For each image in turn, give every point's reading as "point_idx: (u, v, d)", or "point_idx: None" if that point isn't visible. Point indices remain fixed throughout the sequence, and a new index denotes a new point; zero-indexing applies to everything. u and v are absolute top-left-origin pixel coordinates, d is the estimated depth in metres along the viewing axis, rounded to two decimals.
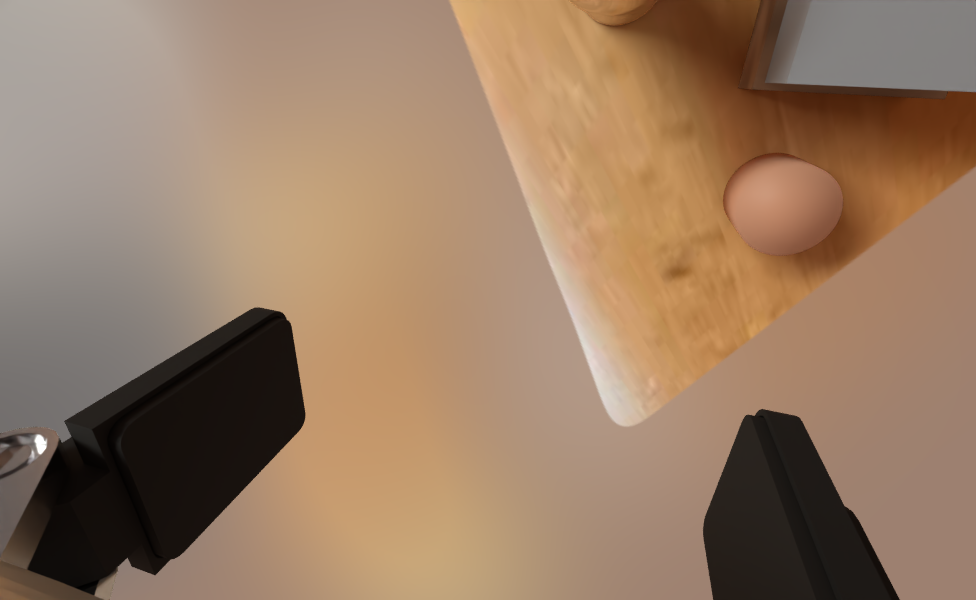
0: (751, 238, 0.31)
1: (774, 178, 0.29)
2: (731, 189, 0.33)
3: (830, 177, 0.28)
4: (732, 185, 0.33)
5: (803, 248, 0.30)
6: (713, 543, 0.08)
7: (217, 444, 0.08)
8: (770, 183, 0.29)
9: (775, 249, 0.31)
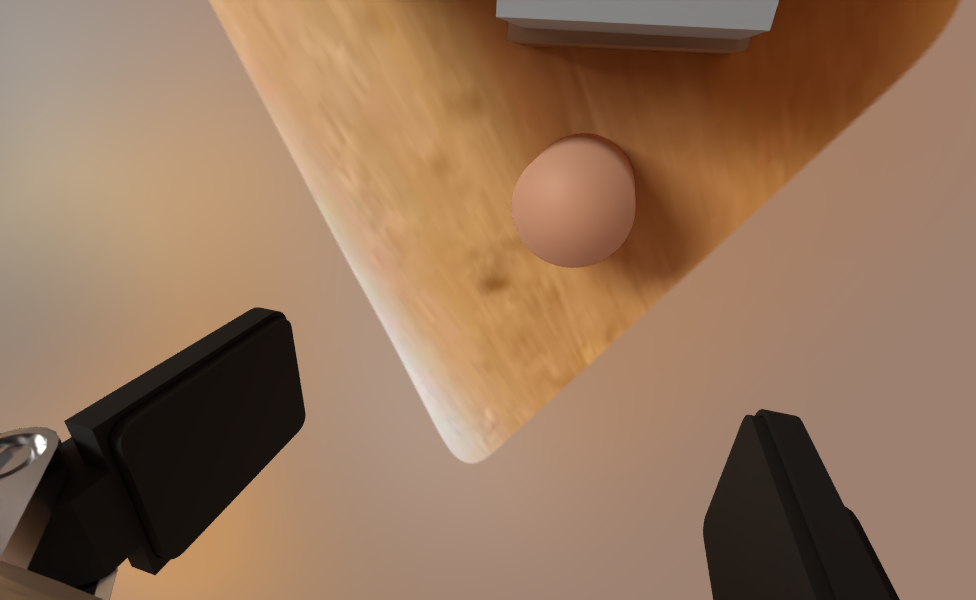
0: (535, 245, 0.24)
1: (547, 165, 0.22)
2: None
3: (614, 164, 0.21)
4: None
5: (598, 258, 0.23)
6: (713, 543, 0.08)
7: (217, 444, 0.08)
8: (544, 172, 0.22)
9: (566, 260, 0.23)
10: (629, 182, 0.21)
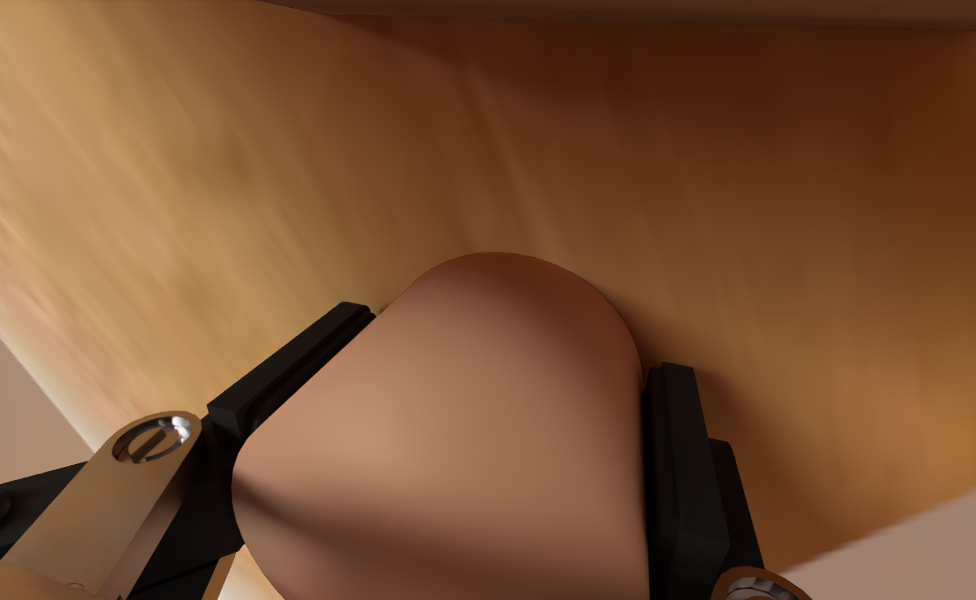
0: None
1: (312, 446, 0.06)
2: None
3: (557, 486, 0.05)
4: None
5: None
6: None
7: None
8: (306, 463, 0.06)
9: None
10: (623, 553, 0.05)
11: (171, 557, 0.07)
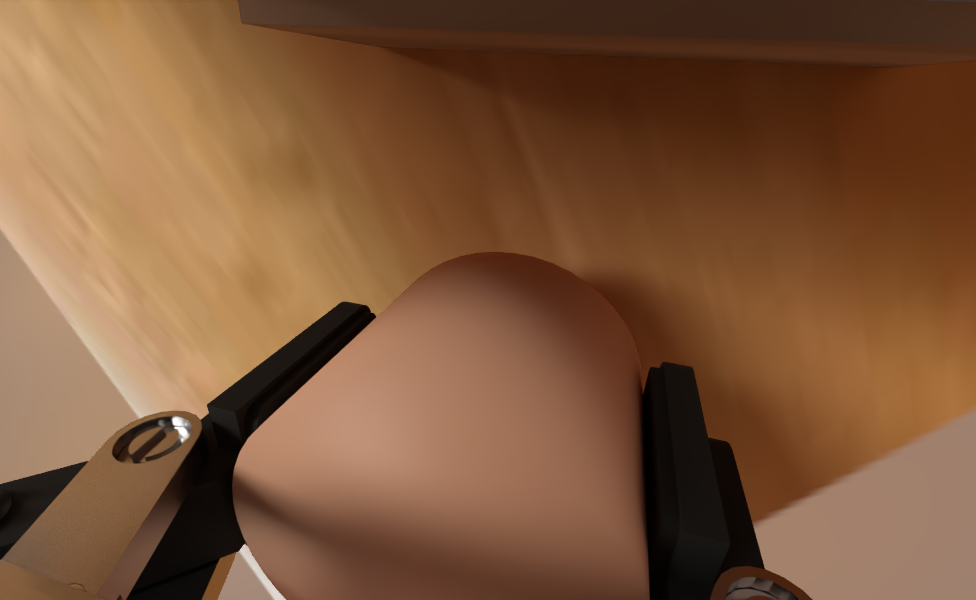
0: None
1: (313, 445, 0.06)
2: None
3: (557, 485, 0.05)
4: None
5: None
6: None
7: None
8: (307, 462, 0.06)
9: None
10: (623, 552, 0.05)
11: (171, 557, 0.07)
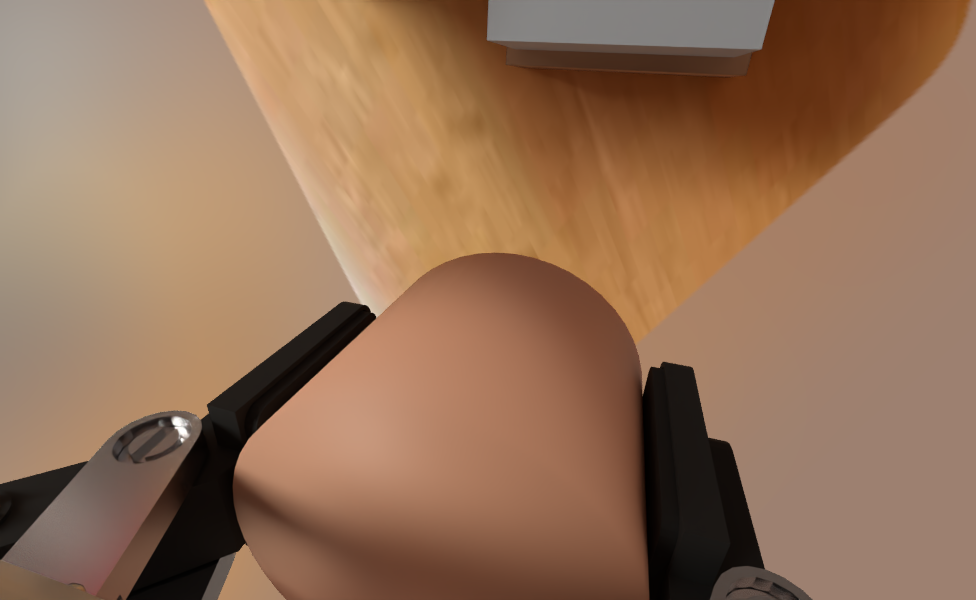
0: None
1: (314, 446, 0.06)
2: None
3: (558, 486, 0.05)
4: None
5: None
6: None
7: None
8: (308, 463, 0.06)
9: None
10: (623, 553, 0.05)
11: (172, 557, 0.07)
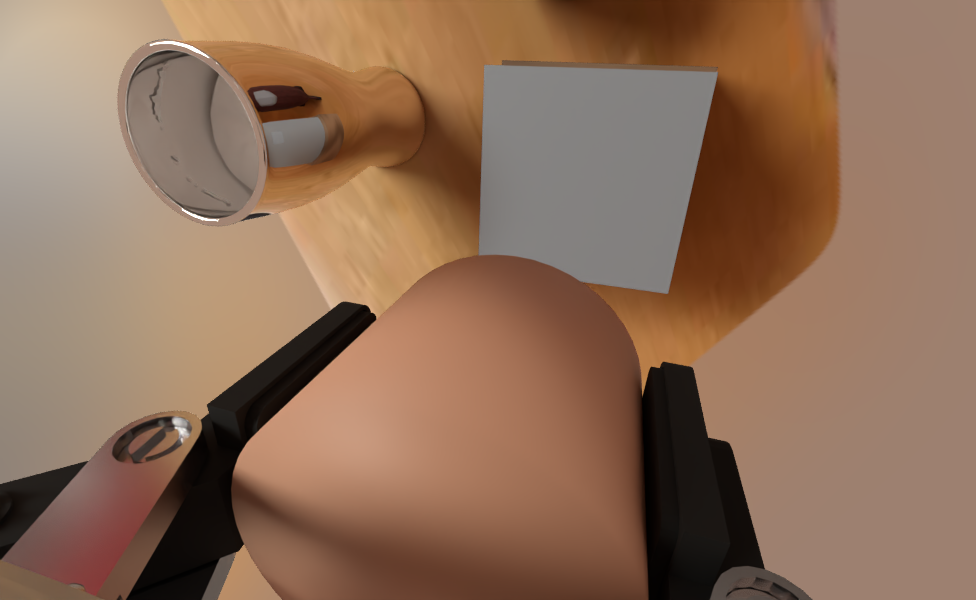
0: None
1: (312, 450, 0.06)
2: None
3: (557, 490, 0.05)
4: None
5: None
6: None
7: None
8: (306, 467, 0.06)
9: None
10: (623, 557, 0.05)
11: (172, 557, 0.07)
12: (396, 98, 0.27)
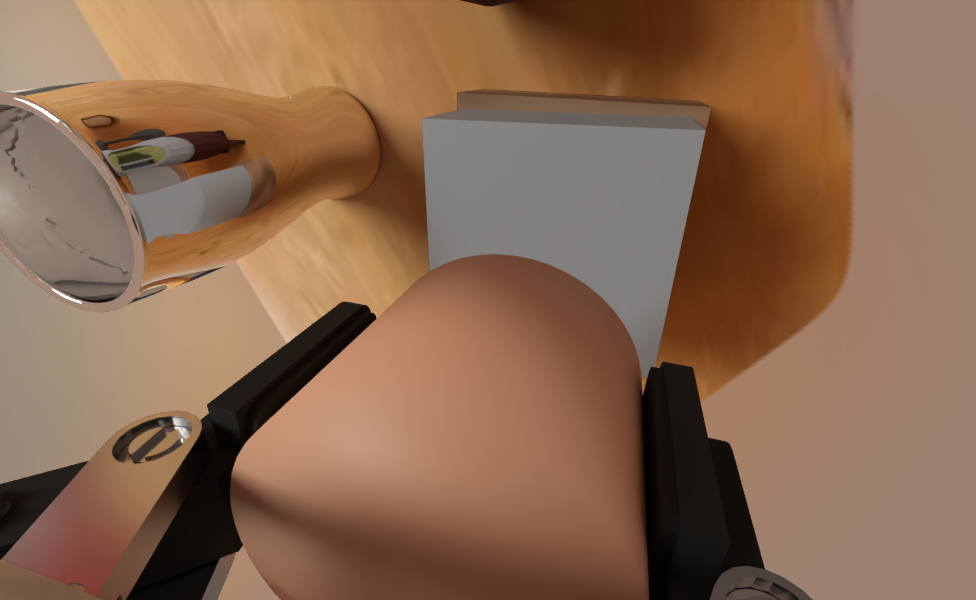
0: None
1: (311, 450, 0.06)
2: None
3: (556, 490, 0.05)
4: None
5: None
6: None
7: None
8: (305, 467, 0.06)
9: None
10: (623, 558, 0.05)
11: (171, 557, 0.07)
12: (342, 127, 0.23)
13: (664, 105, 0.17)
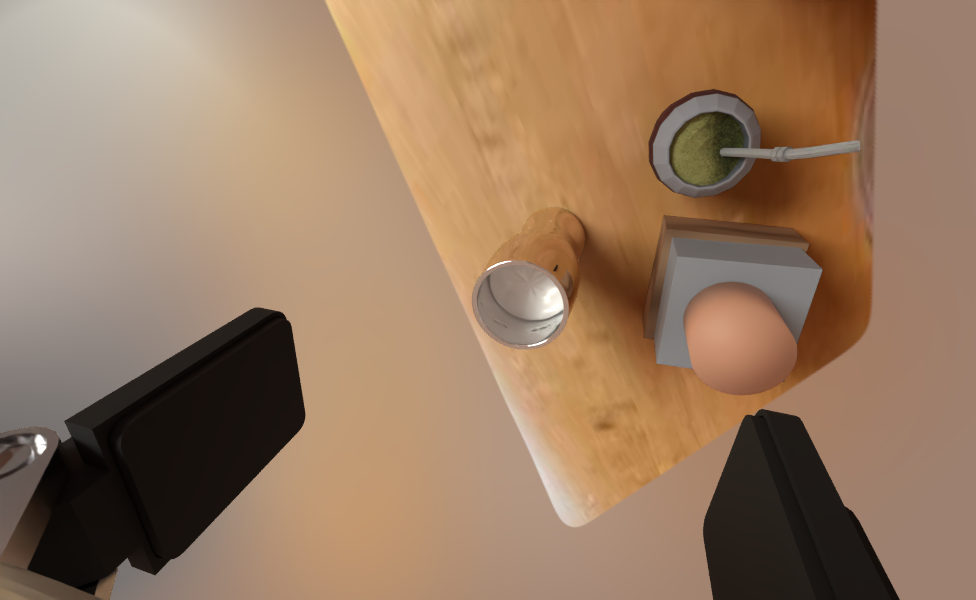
0: (708, 378, 0.30)
1: (725, 324, 0.28)
2: (688, 320, 0.32)
3: (782, 326, 0.27)
4: (689, 315, 0.32)
5: (761, 389, 0.29)
6: (713, 543, 0.08)
7: (217, 444, 0.08)
8: (722, 329, 0.28)
9: (733, 389, 0.30)
10: (793, 339, 0.27)
11: None
12: (576, 236, 0.40)
13: (784, 241, 0.34)
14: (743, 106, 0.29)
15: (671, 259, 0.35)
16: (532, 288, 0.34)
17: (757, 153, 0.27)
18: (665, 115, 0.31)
